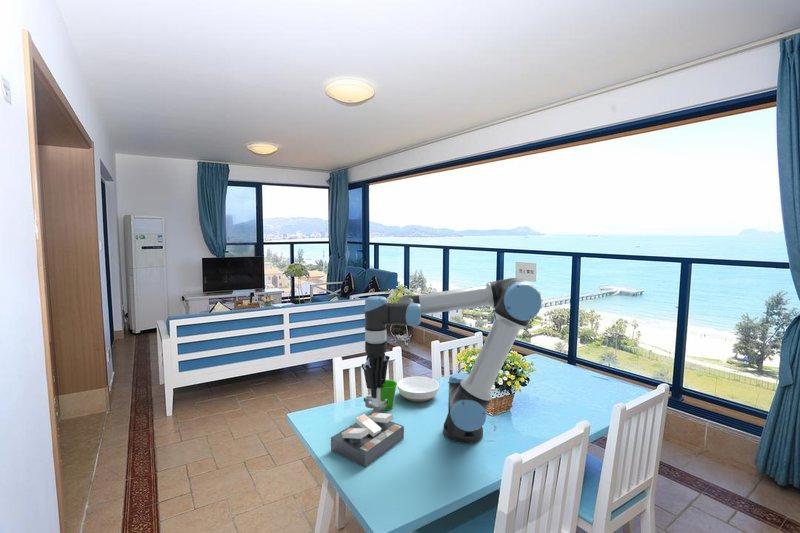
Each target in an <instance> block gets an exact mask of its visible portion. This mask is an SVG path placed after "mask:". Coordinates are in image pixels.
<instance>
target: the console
mask: <svg viewBox="0 0 800 533" xmlns="http://www.w3.org/2000/svg"><path fill="white" fill-rule="evenodd" d="M371 414H372V413H370V414H368V415H366V416H367V417H368V416H369V415H371ZM374 423H376V424H377V425H378V426H379V427H381V428H382V429H381V432H380V433H379V434H377V435H376V436H374V437H373V436H371V435H370V434H368V435H366V436H365V437H363V438H361V439H358V438H343V436H342V432H344V431H346V430H347V429H349V428H362V427H361V426H360V425H358V424H357V423H356V422H355V423H352V425H349V426H348V427H346V428H344V429H343V430H342V431H341V430H340V431H339V432H337V434H334V435H333V436H331V437H330V452H332V453H335V454H336V455H338V456H341V457H342V458H345V459H347V460H349V461H350V462H353V463H354V464H357V465H359V466H361V467H363V468H366V467H368V466H369V465H371V464H372V463H373V462H374V461H376V460H377V459H379V458H380V457H381V456H383V455H384V454H385V453H387V452H388V451H389V450H391V449H393V447H395V446H396V445H398V444H399V443H400V442H401V441H403V440H404V438H405V437H404V436H405V426H404V425H402V424H399V423H396V422H395V421H392V420H391V421H389V422H388V423H381V422H374Z"/></svg>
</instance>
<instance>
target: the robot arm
mask: <svg viewBox="0 0 800 533" xmlns="http://www.w3.org/2000/svg"><path fill="white" fill-rule="evenodd" d="M541 297H542V296H541V295H540V292H539V291H538V289H537V288H536V287H535V286H534V285H533V284H532V283H530V282H527V281H525V280H523V279H522V278H519V277H509V278H504V279H499V280H495V281H488V282H487V283H486V284H484V285H480V286H479V285H478V286H473V287H465V288H458V289H451V290H443V291H437V292H429V293H423V294H415V295H410V294H405V295H403V296H400V298H399V299H398V300H397V302H388V301H387V297H385V296H381V295H374V296H373V295H372V296H368V297H366V298H365V301H364V332H365V334H364V335H365V336H364V339H365V340H364V350H365V353H366V361H365V363H362V364H361V368H362V370H363V374H364V379H365V380H364V381H365V385H366V388H367V389H368V390H369V389H370V391H371V392H370V394H371V395H370V396H371V397H372V402H371V403H372V405H373V406H376V407H379V406H381V388H383V387H384V386H383V385H382V384H385V380H387V378H386V377H387V371H388V365H389V361H390V356H389V355H386V352H387V344H388V342H387V340H388V335H387V334H388V330H387V325H393V326H394V325H395V326H397V325H398V326H417V325H420V324H421V321H422V320H421V319H422V318H421V317H422V315H428V314H436V313H442V312H453V311H459V310H466V309H468V310H469V309H474V308H481V307H488V306H489V307H490V308H492V309H494V310H493V313H494V315H495V319H494V321H493V323H492V326H491V328H490V330H489V332H488V335H487V336H486V339H485V340H484V343H483V345H482V347H481V349H480V351H479V353H478V355H477V357H476V359H475V362H474V363H473V365H472V367H471V370H470V372H469V373H465V372H462V373H461V372H456V373H453V374H451V375H449V377H448V404H447V407H448V408H447V409H448V410H447V412H448V413H447V415H446V417H445V421H444V423H443V428H442V429H443V431H442V433H443V435H444V436H445V438H447V439H448V440H450V441H452V442H455V443H459V444H473V443H477V442H480V440H482V439H483V436H484V428H483V426H484V424H485V423H486V419H487V409H488V408H489V405H490V403H491V402H492V399H493V397H492V394H491V390H492V389H493V386H494V384H495V383H496V382H495V381H496V379H497V378H498V375H499V373H500V372H501V370H502V368H503V366H504V363H505V361H506V360H507V357H508V355H509V353H510V350H511V349H512V347H513V344H514V343H515V341H516V339H517V336H518V335H519V333H520V330H522V329H526V328H527V327H528V326H529V325H528V324H529V322H530V320H532V319H533V318H534V317H536V316H537V315H538V314H539V313H540V311H541V307H542V298H541Z"/></svg>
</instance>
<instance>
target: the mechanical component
mask: <svg viewBox="0 0 800 533" xmlns="http://www.w3.org/2000/svg"><path fill="white" fill-rule="evenodd" d="M363 402H364V404H365V408H367V409H373V410H372V412H373V413H380V410H383V409H385V408H386V406H387V404H389V400H387V399H385V401H384V402H382V401H381V406H379V407H376V406H373V405H372V397H371V395H366V397H363ZM382 405H385V406H382Z"/></svg>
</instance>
